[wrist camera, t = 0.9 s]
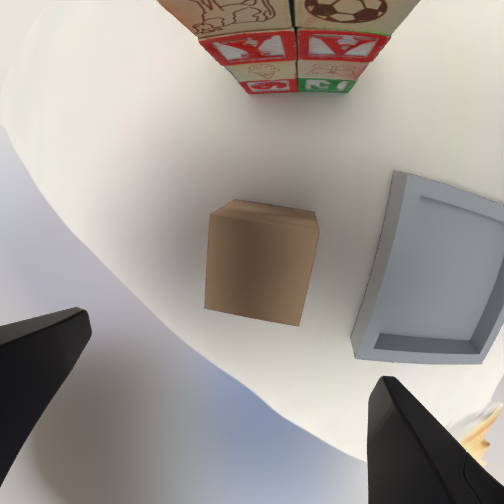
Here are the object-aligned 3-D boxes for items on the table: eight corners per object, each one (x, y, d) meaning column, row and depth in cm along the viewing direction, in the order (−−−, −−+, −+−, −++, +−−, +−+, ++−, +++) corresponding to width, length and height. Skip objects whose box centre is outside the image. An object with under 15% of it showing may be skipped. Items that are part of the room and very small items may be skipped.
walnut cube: (314, 211, 17) (319, 232, 12) (300, 285, 19) (298, 326, 14) (235, 199, 18) (210, 214, 13) (227, 272, 19) (204, 308, 15)
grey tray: (518, 213, 14) (537, 221, 11) (470, 347, 18) (481, 364, 15) (393, 170, 15) (407, 172, 13) (350, 337, 19) (354, 358, 17)
